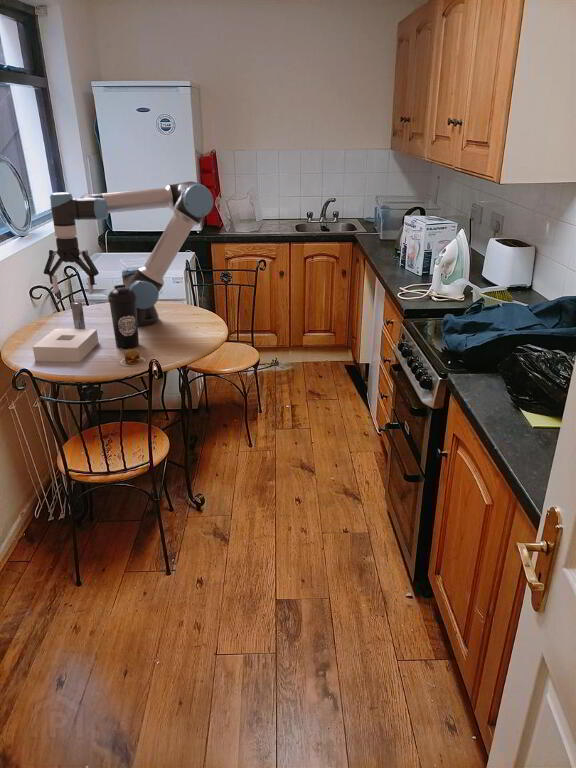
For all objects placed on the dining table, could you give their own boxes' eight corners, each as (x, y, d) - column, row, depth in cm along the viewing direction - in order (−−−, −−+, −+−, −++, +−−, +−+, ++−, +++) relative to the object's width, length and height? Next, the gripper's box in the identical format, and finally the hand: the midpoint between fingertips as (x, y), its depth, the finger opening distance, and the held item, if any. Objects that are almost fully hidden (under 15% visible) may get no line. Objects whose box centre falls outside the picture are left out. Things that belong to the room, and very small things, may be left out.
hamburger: (151, 356, 206) (149, 342, 204) (149, 369, 196) (148, 355, 193) (117, 358, 204) (115, 344, 202) (114, 371, 194) (112, 356, 191)
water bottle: (117, 351, 209) (109, 291, 199) (111, 343, 217) (104, 285, 208) (144, 347, 213) (138, 288, 204) (137, 339, 221) (131, 282, 212)
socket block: (98, 342, 217) (96, 329, 215) (79, 362, 199) (77, 347, 197) (57, 341, 218) (55, 328, 215) (35, 361, 199) (32, 346, 197)
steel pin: (88, 335, 225) (83, 301, 219) (84, 338, 221) (79, 304, 215) (78, 335, 225) (73, 301, 219) (74, 338, 221) (69, 304, 215)
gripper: (103, 236, 210) (109, 291, 218) (37, 234, 210) (46, 289, 219) (96, 239, 203) (102, 296, 212) (28, 237, 203) (37, 294, 212)
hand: (74, 292), depth 215 cm, fingers open, 13 cm apart
